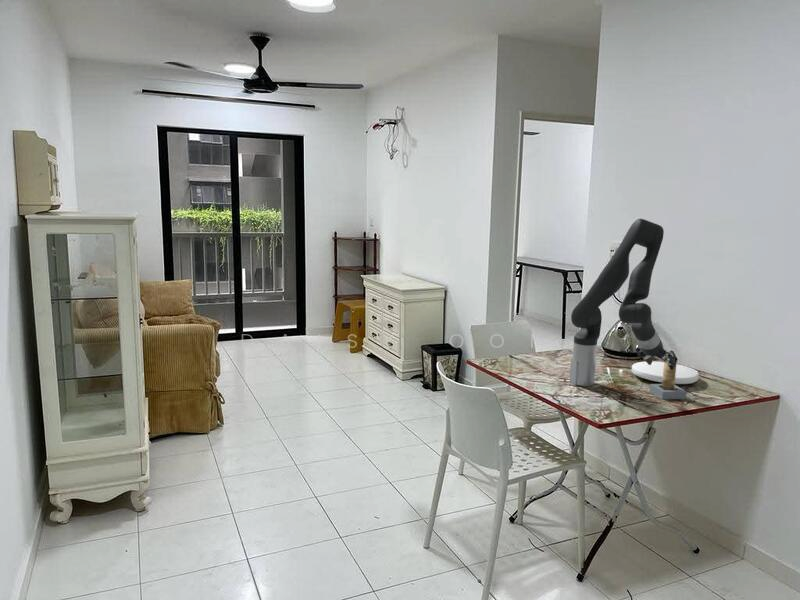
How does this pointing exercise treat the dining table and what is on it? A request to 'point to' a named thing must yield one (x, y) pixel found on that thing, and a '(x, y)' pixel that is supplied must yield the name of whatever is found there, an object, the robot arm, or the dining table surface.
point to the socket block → (668, 392)
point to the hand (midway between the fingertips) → (661, 365)
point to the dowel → (668, 377)
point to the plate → (656, 372)
